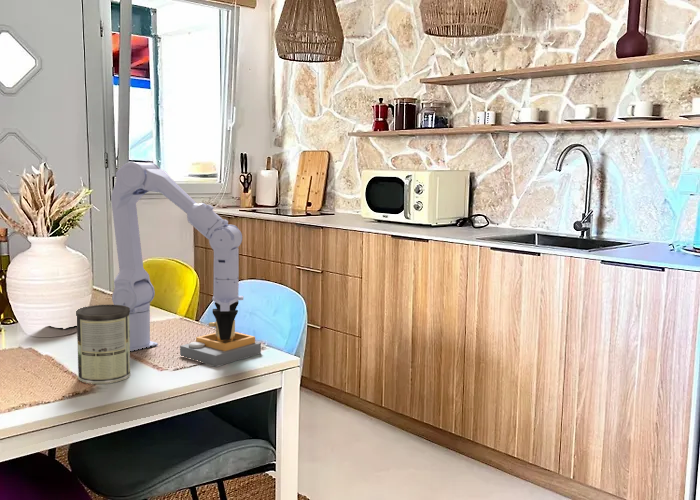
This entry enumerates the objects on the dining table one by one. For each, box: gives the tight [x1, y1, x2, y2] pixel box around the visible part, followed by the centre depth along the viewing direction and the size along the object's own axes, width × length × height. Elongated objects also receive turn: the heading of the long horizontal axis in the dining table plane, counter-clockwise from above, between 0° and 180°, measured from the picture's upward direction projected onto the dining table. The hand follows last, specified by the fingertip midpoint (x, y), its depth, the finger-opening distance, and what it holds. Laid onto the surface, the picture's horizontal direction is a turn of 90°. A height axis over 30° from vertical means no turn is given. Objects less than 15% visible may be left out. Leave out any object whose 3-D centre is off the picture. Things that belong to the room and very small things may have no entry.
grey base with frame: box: [179, 331, 262, 368], centre depth 154 cm, size 14×12×4 cm
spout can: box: [208, 319, 236, 343], centre depth 154 cm, size 6×4×8 cm
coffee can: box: [76, 304, 131, 385], centre depth 135 cm, size 10×10×14 cm
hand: (225, 335), depth 155 cm, fingers open, 7 cm apart
